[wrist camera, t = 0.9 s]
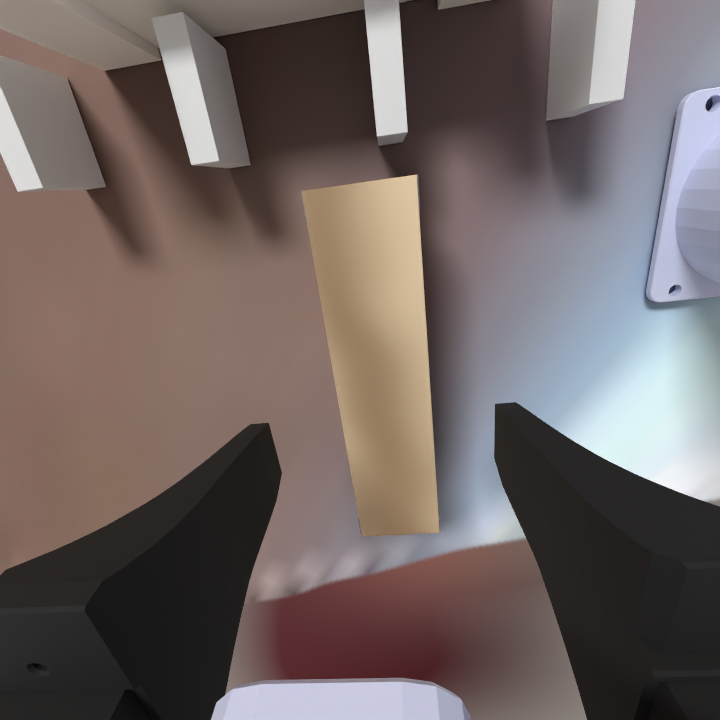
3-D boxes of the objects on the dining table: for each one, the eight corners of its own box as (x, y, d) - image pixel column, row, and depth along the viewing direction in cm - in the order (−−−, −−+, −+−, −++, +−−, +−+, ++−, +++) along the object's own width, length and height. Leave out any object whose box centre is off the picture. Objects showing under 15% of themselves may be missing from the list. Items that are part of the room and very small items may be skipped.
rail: (408, 176, 16) (418, 174, 12) (428, 461, 22) (440, 532, 18) (322, 189, 17) (299, 191, 12) (365, 466, 23) (360, 536, 18)
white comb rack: (591, -114, 13) (806, -419, 6) (572, 116, 15) (709, 68, 9) (15, 5, 15) (-269, -132, 8) (85, 189, 17) (-90, 194, 11)
